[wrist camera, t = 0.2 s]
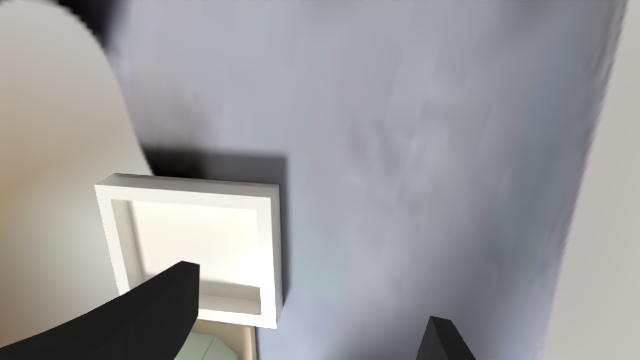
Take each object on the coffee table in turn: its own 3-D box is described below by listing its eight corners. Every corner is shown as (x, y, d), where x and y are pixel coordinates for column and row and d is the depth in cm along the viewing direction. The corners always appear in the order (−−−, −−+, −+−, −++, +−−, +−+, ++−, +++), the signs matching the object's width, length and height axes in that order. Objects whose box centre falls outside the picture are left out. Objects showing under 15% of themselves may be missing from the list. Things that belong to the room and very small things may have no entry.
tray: (282, 307, 25) (275, 328, 23) (139, 291, 26) (122, 309, 24) (279, 184, 21) (270, 197, 20) (115, 173, 23) (94, 184, 21)
